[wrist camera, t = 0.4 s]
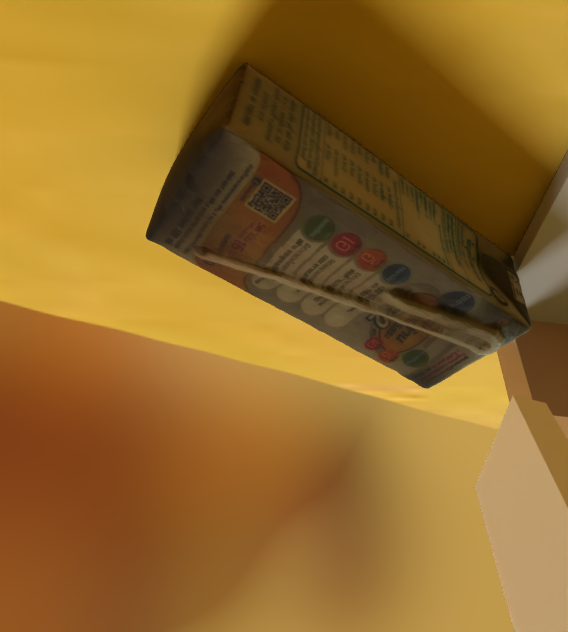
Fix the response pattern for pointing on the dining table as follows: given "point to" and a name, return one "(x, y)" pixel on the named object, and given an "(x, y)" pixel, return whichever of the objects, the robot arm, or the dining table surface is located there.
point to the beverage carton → (334, 236)
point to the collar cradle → (543, 306)
